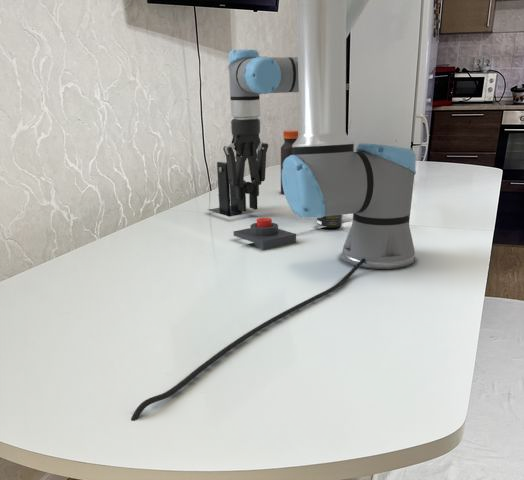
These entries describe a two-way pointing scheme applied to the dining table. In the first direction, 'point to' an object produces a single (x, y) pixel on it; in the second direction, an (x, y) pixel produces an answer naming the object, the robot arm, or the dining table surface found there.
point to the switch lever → (248, 186)
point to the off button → (264, 222)
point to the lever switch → (226, 194)
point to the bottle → (287, 148)
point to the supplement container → (330, 222)
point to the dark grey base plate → (266, 236)
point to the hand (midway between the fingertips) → (247, 209)
